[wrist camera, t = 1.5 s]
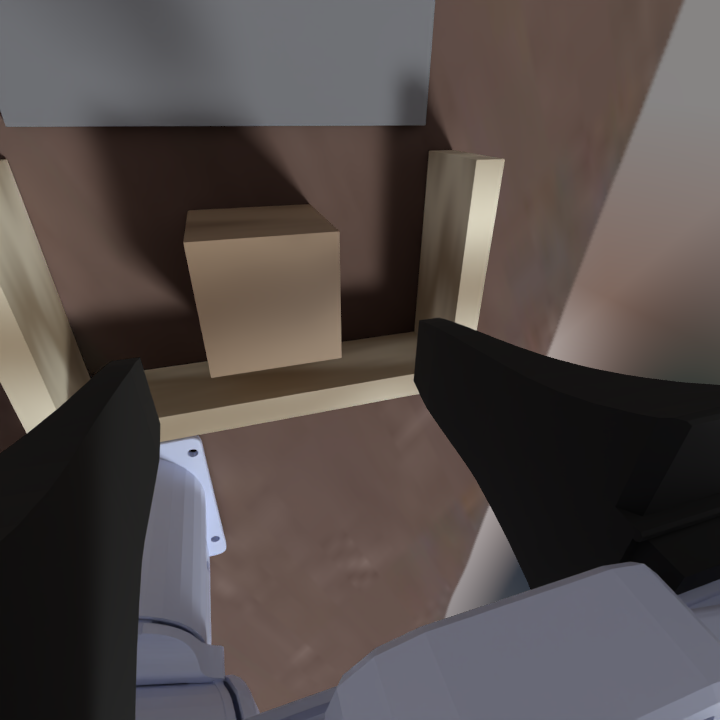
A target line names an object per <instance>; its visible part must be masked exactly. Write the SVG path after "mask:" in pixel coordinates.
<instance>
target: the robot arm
mask: <svg viewBox="0 0 720 720" xmlns="http://www.w3.org/2000/svg"><path fill="white" fill-rule="evenodd" d="M413 381H414V383H415V385H416V387H417V389H418V391H419V394H420V396H421V398H422V400H423V402H424V403H425V405H426V407H427V409H428V410H429V412H430V413H431V415H432V416H433V418H434V419H435V421H436V422H437V424H438V425H439V427H440V428H441V429H442V431H443V432H444V434H445V435H446V437H447V438H448V439H449V441H450V442H451V444H452V445H453V446H454V448H455V449H456V451H457V452H458V453H459V455H460V456H461V458H462V459H463V461H464V462H465V463H466V465H467V466H468V468H469V469H470V471H471V473H472V474H473V476H474V477H475V479H476V481H477V482H478V484H479V486H480V488H481V490H482V492H483V493H484V495H485V497H486V499H487V501H488V502H489V504H490V506H491V508H492V510H493V512H494V514H495V516H496V518H497V520H498V522H499V523H500V525H501V527H502V529H503V531H504V533H505V535H506V537H507V539H508V541H509V543H510V545H511V548H512V550H513V552H514V554H515V556H516V558H517V560H518V562H519V565H520V567H521V569H522V571H523V573H524V575H525V577H526V579H527V582H528V584H529V587H530V589H531V590H529V591H526V592H523V593H520V594H517V595H514V596H511V597H508V598H505V599H502V600H500V601H496V602H493V603H490V604H487V605H484V606H481V607H478V608H475V609H472V610H469V611H466V612H463V613H460V614H457V615H454V616H451V617H449V618H445V619H442V620H439V621H437V622H434V623H431V624H428V625H425V626H422V627H419V628H417V629H415V630H413V631H410V632H408V633H406V634H404V635H402V636H400V637H398V638H396V639H394V640H392V641H389V642H387V643H385V644H383V645H381V646H379V647H377V648H375V649H374V650H373V651H371V652H370V653H369V654H368V655H367V656H365V657H364V658H363V659H362V660H361V661H359V662H358V663H357V664H356V665H355V666H353V667H352V668H351V669H350V670H349V671H347V672H346V673H345V674H344V675H343V676H342V678H341V680H340V682H339V684H338V686H336V687H333V688H330V689H327V690H325V691H322V692H319V693H316V694H313V695H310V696H308V697H305V698H302V699H299V700H296V701H294V702H291V703H288V704H285V705H282V706H279V707H277V708H274V709H271V710H268V711H265V712H262V713H259V710H258V707H257V705H256V703H255V701H254V699H253V697H252V694H251V692H250V690H249V688H248V686H247V685H246V683H245V682H244V681H243V680H242V679H241V678H240V677H237V676H235V675H226V676H225V669H224V647H223V646H216V645H211V597H210V556H213V555H217V554H220V553H222V552H224V551H225V550H226V540H225V536H224V532H223V528H222V523H221V519H220V515H219V511H218V507H217V503H216V499H215V495H214V490H213V486H212V482H211V478H210V474H209V470H208V466H207V461H206V457H205V453H204V449H203V445H202V441H201V438H200V437H199V436H198V435H195V436H190V437H185V438H179V439H174V440H168V441H163V442H160V425H161V424H160V421H159V418H158V415H157V411H156V408H155V405H154V401H153V398H152V395H151V392H150V388H149V385H148V382H147V379H146V375H145V372H144V369H143V366H142V362H141V359H140V357H139V358H132V359H124V360H117V361H111V362H110V363H109V364H107V365H106V366H105V367H104V368H102V369H101V370H100V371H99V372H98V373H97V374H96V375H95V376H93V377H92V378H91V379H90V380H89V381H88V382H87V383H86V384H85V385H84V386H82V387H81V388H80V389H79V390H78V391H77V392H76V393H75V394H74V395H72V396H71V397H70V398H69V399H68V400H67V401H66V402H65V403H63V404H62V405H61V406H60V407H59V408H58V409H57V410H55V411H54V412H53V413H52V414H50V415H49V416H48V417H47V418H45V419H44V420H43V421H42V422H41V423H39V424H38V425H37V426H36V427H34V428H33V429H32V430H31V431H29V432H28V433H27V434H26V435H24V436H23V437H22V438H21V439H19V440H18V441H17V442H15V443H14V444H13V445H11V446H10V447H9V448H7V449H6V450H4V451H3V452H2V453H0V720H720V385H712V384H698V383H697V384H696V383H684V382H675V381H667V380H659V379H650V378H643V377H636V376H631V375H624V374H619V373H614V372H608V371H603V370H598V369H593V368H589V367H585V366H580V365H577V364H573V363H569V362H565V361H562V360H557V359H554V358H551V357H547V356H544V355H541V354H538V353H535V352H532V351H529V350H526V349H523V348H520V347H517V346H515V345H512V344H509V343H507V342H504V341H501V340H499V339H496V338H494V337H491V336H489V335H486V334H484V333H481V332H479V331H476V330H474V329H471V328H469V327H466V326H463V325H461V324H458V323H455V322H453V321H450V320H446V319H443V318H432V319H425V320H419V326H418V337H417V348H416V358H415V369H414V380H413ZM191 449H195V450H197V451H195V452H190V451H189V450H191ZM214 536H216V537H214Z"/></svg>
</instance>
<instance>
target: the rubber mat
mask: <svg viewBox="0 0 720 720" xmlns="http://www.w3.org/2000/svg"><path fill="white" fill-rule="evenodd" d="M434 8H435V0H0V111H1V114H2V117H3V119H4V122H5V125H6V127H67V126H372V125H426V114H427V100H428V87H429V74H430V61H431V47H432V34H433V21H434Z"/></svg>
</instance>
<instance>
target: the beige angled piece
mask: <svg viewBox="0 0 720 720" xmlns="http://www.w3.org/2000/svg"><path fill="white" fill-rule="evenodd" d="M504 161H505V159H502V158H496V157H490V156H484V155H479V154H473V153H467V152H461V151H456V150H433V151H429V158H428V170H427V182H426V194H425V207H424V219H423V231H422V243H421V256H420V268H419V280H418V292H417V305H416V317H415V329H414V332H407V333H400V334H393V335H386V336H379V337H372V338H365V339H358V340H351V341H344V342H341V352H342V358H338V359H331V360H325V361H318V362H312V363H305V364H299V365H292V366H286V367H279V368H273V369H266V370H260V371H253V372H247V373H240V374H234V375H227V376H221V377H214V378H211V375H210V370H209V365H208V361H205V362H198V363H191V364H184V365H177V366H170V367H163V368H157V369H150V370H144V372H145V375H146V379H147V382H148V385H149V388H150V392H151V395H152V398H153V401H154V405H155V408H156V411H157V415H158V418H159V421H160V424H161V425H160V442H163V441H168V440H174V439H179V438H185V437H190V436H195V435H201V434H206V433H211V432H217V431H222V430H227V429H233V428H238V427H243V426H249V425H254V424H260V423H265V422H270V421H276V420H281V419H286V418H292V417H297V416H302V415H308V414H313V413H318V412H324V411H329V410H334V409H340V408H345V407H351V406H356V405H361V404H367V403H372V402H377V401H383V400H388V399H393V398H399V397H404V396H409V395H415V394H419V391H418V389H417V387H416V385H415V383H414V381H413V380H414V369H415V358H416V348H417V337H418V326H419V320H425V319H432V318H443V319H446V320H450V321H453V322H455V323H458V324H461V325H463V326H466V327H469V328H471V329H474V330H476V331H477V324H478V318H479V312H480V306H481V300H482V294H483V288H484V282H485V276H486V270H487V264H488V258H489V252H490V246H491V240H492V234H493V228H494V222H495V216H496V210H497V204H498V197H499V191H500V185H501V179H502V173H503V167H504ZM90 379H91V378H90V377H89V374H88V371H87V369H86V366H85V363H84V361H83V358H82V355H81V353H80V350H79V348H78V345H77V342H76V340H75V337H74V334H73V332H72V329H71V327H70V324H69V321H68V319H67V316H66V313H65V311H64V308H63V306H62V303H61V300H60V298H59V295H58V292H57V290H56V287H55V285H54V282H53V279H52V277H51V274H50V271H49V269H48V266H47V264H46V261H45V258H44V256H43V253H42V250H41V248H40V245H39V243H38V240H37V237H36V235H35V232H34V229H33V227H32V224H31V222H30V219H29V216H28V214H27V211H26V208H25V206H24V203H23V201H22V198H21V195H20V193H19V190H18V187H17V185H16V182H15V179H14V177H13V174H12V172H11V169H10V166H9V164H8V161H7V159H0V382H1V384H2V386H3V388H4V390H5V392H6V394H7V396H8V398H9V400H10V402H11V404H12V406H13V408H14V410H15V412H16V414H17V416H18V418H19V420H20V421H21V423H22V425H23V427H24V429H25V431H26V433H28V432H29V431H31V430H32V429H33V428H34V427H36V426H37V425H38V424H39V423H41V422H42V421H43V420H44V419H45V418H47V417H48V416H49V415H50V414H52V413H53V412H54V411H55V410H57V409H58V408H59V407H60V406H61V405H62V404H63V403H65V402H66V401H67V400H68V399H69V398H70V397H71V396H72V395H74V394H75V393H76V392H77V391H78V390H79V389H80V388H81V387H82V386H84V385H85V384H86V383H87V382H88V381H89V380H90Z"/></svg>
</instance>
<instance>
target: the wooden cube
mask: <svg viewBox="0 0 720 720" xmlns="http://www.w3.org/2000/svg"><path fill="white" fill-rule="evenodd" d="M183 244H184V248H185V253H186V258H187V263H188V268H189V273H190V278H191V282H192V287H193V292H194V297H195V302H196V307H197V311H198V316H199V321H200V326H201V331H202V336H203V341H204V345H205V350H206V355H207V360H208V365H209V370H210V375H211V378H214V377H221V376H227V375H234V374H240V373H247V372H253V371H260V370H266V369H273V368H279V367H286V366H292V365H299V364H305V363H312V362H318V361H325V360H331V359H338V358H342V352H341V293H340V234H339V231H338V230H337V229H336V228H335V227H334V226H333V225H332V224H331V223H330V222H329V221H328V220H327V219H325V218H324V217H323V216H322V215H321V214H320V213H319V212H318V211H317V210H316V209H315V208H313V207H312V206H311V205H310V204H299V205H280V206H261V207H242V208H224V209H205V210H188V212H187V220H186V227H185V234H184V241H183Z"/></svg>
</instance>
